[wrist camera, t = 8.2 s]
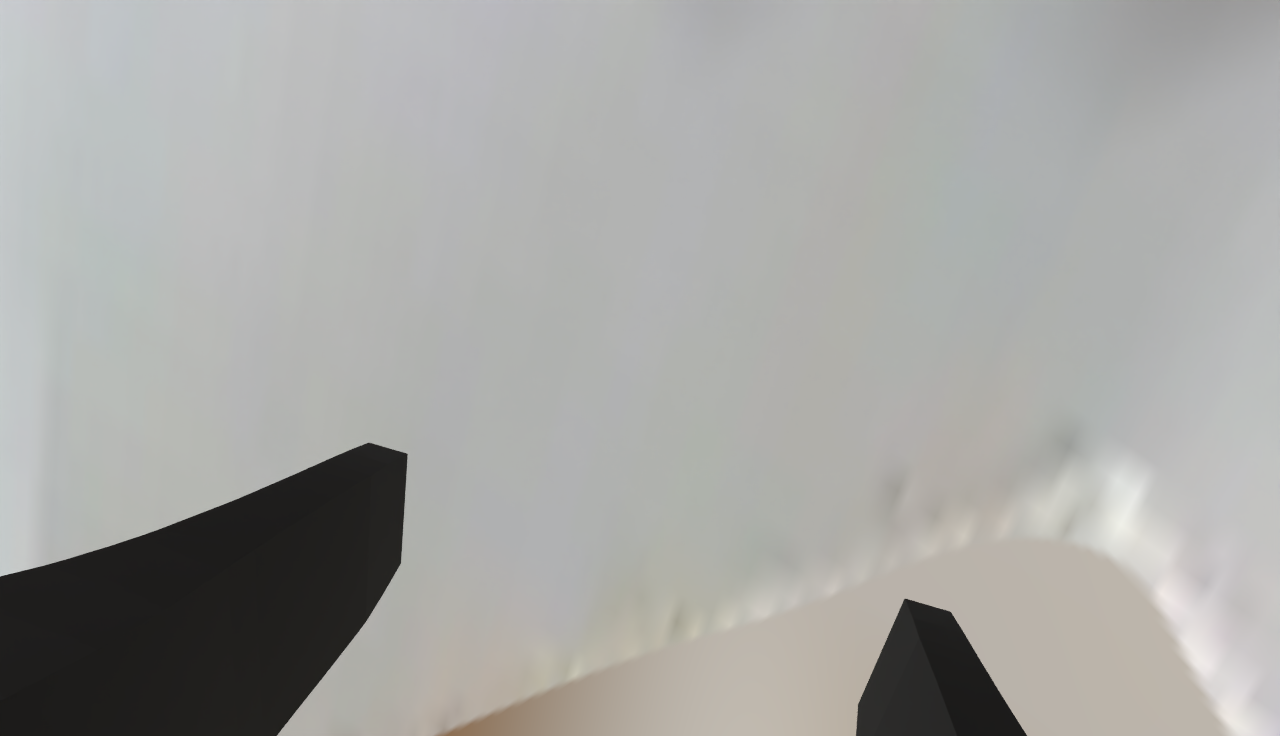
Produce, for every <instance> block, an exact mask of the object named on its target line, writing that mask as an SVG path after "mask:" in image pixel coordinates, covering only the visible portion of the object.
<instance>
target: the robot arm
mask: <svg viewBox="0 0 1280 736" xmlns="http://www.w3.org/2000/svg"><path fill="white" fill-rule="evenodd" d="M407 455H408V454H406V453H403V452H399V451H396V450H392V449H389V448H385V447H382V446H379V445H375V444H372V443H367V444H364V445H362V446H359V447H357V448H354V449H352V450H349V451H347V452H344V453H342V454H340V455H338V456H335V457H333V458H331V459H328V460H326V461H324V462H322V463H319V464H317V465H315V466H313V467H310V468H308V469H306V470H304V471H301V472H299V473H297V474H295V475H292V476H290V477H288V478H285V479H283V480H281V481H278V482H276V483H274V484H271V485H269V486H267V487H265V488H262V489H260V490H258V491H255V492H253V493H251V494H248V495H246V496H244V497H241V498H239V499H237V500H234V501H232V502H229V503H227V504H224V505H221V506H219V507H216V508H214V509H211V510H208V511H206V512H203V513H201V514H198V515H195V516H193V517H190V518H188V519H185V520H183V521H180V522H177V523H175V524H172V525H170V526H167V527H164V528H162V529H159V530H157V531H154V532H151V533H148V534H145V535H142V536H139V537H136V538H133V539H130V540H127V541H124V542H121V543H118V544H115V545H112V546H109V547H106V548H102V549H99V550H96V551H93V552H89V553H86V554H83V555H79V556H76V557H73V558H70V559H66V560H63V561H59V562H56V563H52V564H49V565H45V566H41V567H37V568H33V569H29V570H25V571H21V572H17V573H13V574H9V575H5V576H1V577H0V736H277V735H278V733H279V732H280V731H281V729H282V728H283V727H284V726H285V724H286V723H287V722H288V721H289V719H290V718H291V717H292V716H293V714H294V713H295V712H296V711H297V709H298V708H299V707H300V705H301V704H302V703H303V702H304V700H305V699H306V698H307V697H308V695H309V694H310V693H311V692H312V690H313V689H314V688H315V687H316V685H317V684H318V683H319V681H320V680H321V679H322V678H323V676H324V675H325V674H326V673H327V671H328V670H329V669H330V668H331V666H332V665H333V664H334V662H335V661H336V660H337V659H338V657H339V656H340V655H341V653H342V652H343V651H344V650H345V648H346V647H347V646H348V644H349V643H350V642H351V641H352V639H353V638H354V637H355V635H356V634H357V633H358V632H359V630H360V629H361V628H362V626H363V625H364V624H365V622H366V621H367V619H368V618H369V616H370V614H371V613H372V611H373V609H374V608H375V606H376V605H377V603H378V601H379V600H380V598H381V597H382V595H383V593H384V591H385V590H386V588H387V586H388V585H389V583H390V581H391V579H392V578H393V576H394V574H395V572H396V571H397V569H398V567H399V566H400V564H401V552H402V536H403V520H404V503H405V487H406V471H407ZM856 736H1027V735H1026V733H1025V732H1024V730H1023V729H1022V727H1021V726H1020V724H1019V722H1018V721H1017V719H1016V718H1015V716H1014V715H1013V713H1012V712H1011V710H1010V708H1009V707H1008V705H1007V704H1006V702H1005V700H1004V699H1003V697H1002V696H1001V694H1000V692H999V691H998V689H997V687H996V686H995V684H994V682H993V681H992V679H991V677H990V676H989V674H988V672H987V671H986V669H985V668H984V666H983V664H982V663H981V661H980V659H979V658H978V656H977V654H976V653H975V651H974V649H973V648H972V646H971V644H970V643H969V641H968V639H967V638H966V636H965V634H964V633H963V631H962V629H961V628H960V626H959V624H958V623H957V621H956V620H955V618H954V616H953V615H952V613H951V612H949V611H946V610H943V609H939V608H935V607H932V606H929V605H925V604H922V603H918V602H915V601H912V600H908V599H904V601H903V604H902V606H901V608H900V611H899V613H898V616H897V618H896V620H895V622H894V624H893V627H892V629H891V631H890V633H889V636H888V638H887V640H886V643H885V645H884V647H883V649H882V652H881V654H880V656H879V658H878V661H877V663H876V665H875V668H874V670H873V672H872V674H871V677H870V679H869V681H868V683H867V686H866V688H865V690H864V693H863V695H862V697H861V700H860V702H859V704H858V716H857V732H856Z"/></svg>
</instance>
